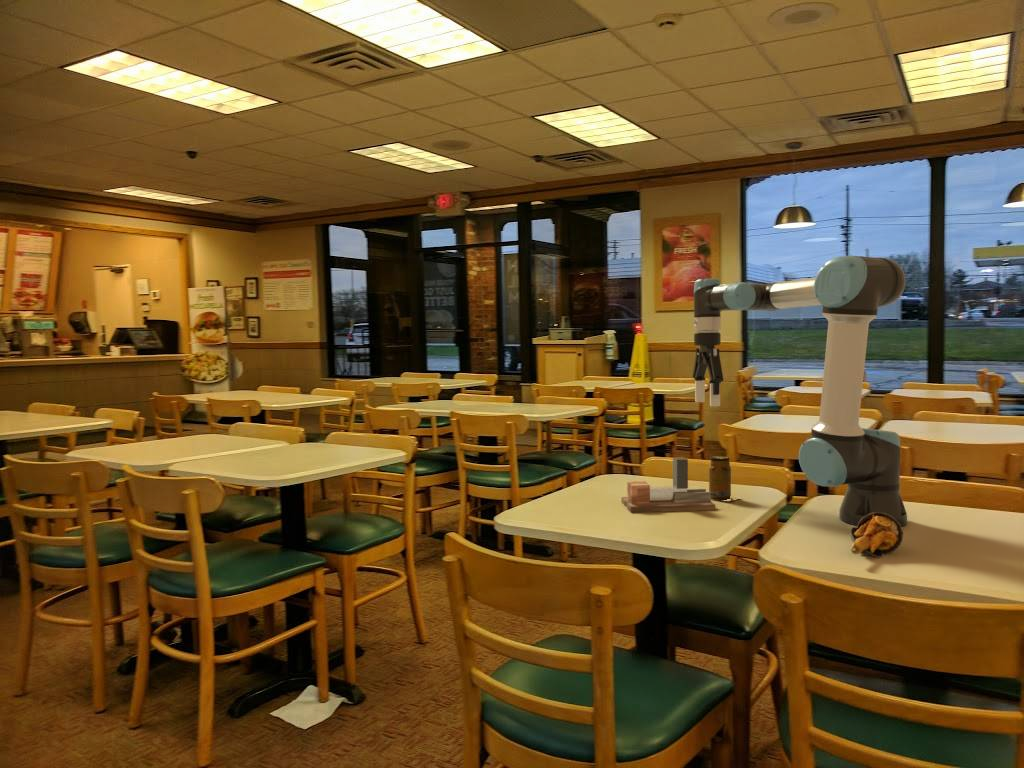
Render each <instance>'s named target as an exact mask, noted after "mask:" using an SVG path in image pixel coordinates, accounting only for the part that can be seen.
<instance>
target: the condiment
mask: <svg viewBox="0 0 1024 768" xmlns="http://www.w3.org/2000/svg"><path fill="white" fill-rule="evenodd" d="M730 464H731V462H730V457H728V456H723V455H713V456H711V457H710V465H709V468H708V492H711V500H712V501H718V502H721V501H720V500H727V499H730V497H732V493H731V492H732V468H731V465H730ZM733 497H734V498H738V497H736V496H733ZM724 503H731V502H730V501H724Z"/></svg>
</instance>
